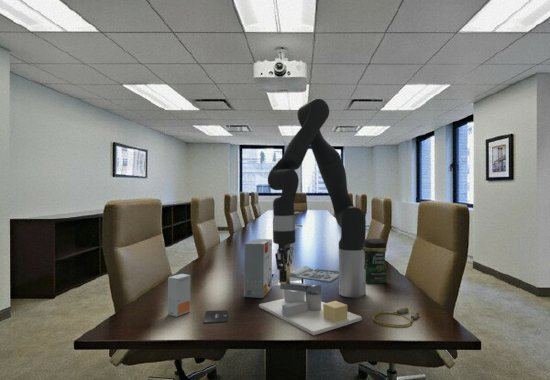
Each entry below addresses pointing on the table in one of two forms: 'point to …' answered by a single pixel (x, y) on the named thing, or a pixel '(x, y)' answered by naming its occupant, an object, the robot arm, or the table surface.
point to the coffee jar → (375, 260)
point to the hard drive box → (257, 267)
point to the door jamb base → (310, 312)
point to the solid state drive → (216, 316)
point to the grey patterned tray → (315, 274)
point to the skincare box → (179, 294)
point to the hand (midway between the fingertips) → (285, 279)
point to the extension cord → (400, 311)
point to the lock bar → (299, 285)
